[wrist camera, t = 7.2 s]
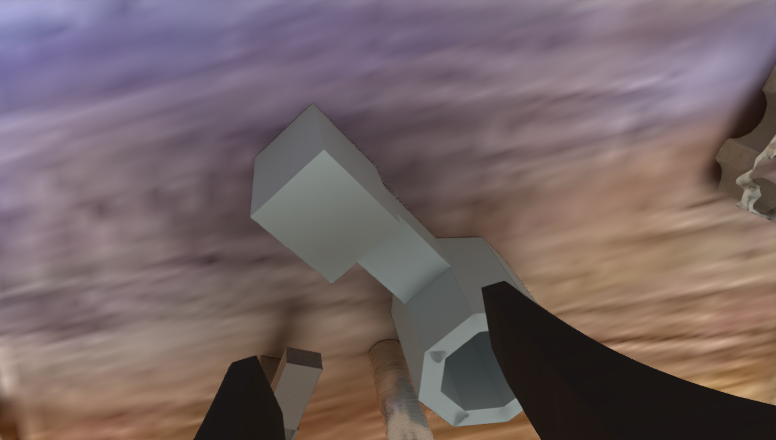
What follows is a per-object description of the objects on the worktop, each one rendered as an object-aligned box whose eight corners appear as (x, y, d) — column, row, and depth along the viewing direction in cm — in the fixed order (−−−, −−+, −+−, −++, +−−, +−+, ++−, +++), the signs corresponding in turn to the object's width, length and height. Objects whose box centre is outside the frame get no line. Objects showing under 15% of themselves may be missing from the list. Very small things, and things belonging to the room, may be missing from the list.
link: (528, 285, 26) (586, 364, 21) (440, 355, 27) (476, 444, 22) (337, 79, 20) (357, 124, 15) (232, 179, 21) (220, 250, 16)
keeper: (317, 307, 24) (325, 369, 21) (283, 390, 26) (285, 461, 22) (282, 299, 23) (283, 362, 20) (249, 385, 25) (246, 457, 22)
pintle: (406, 365, 27) (440, 475, 21) (369, 371, 26) (394, 484, 21) (404, 336, 26) (440, 443, 20) (367, 343, 25) (392, 452, 20)
